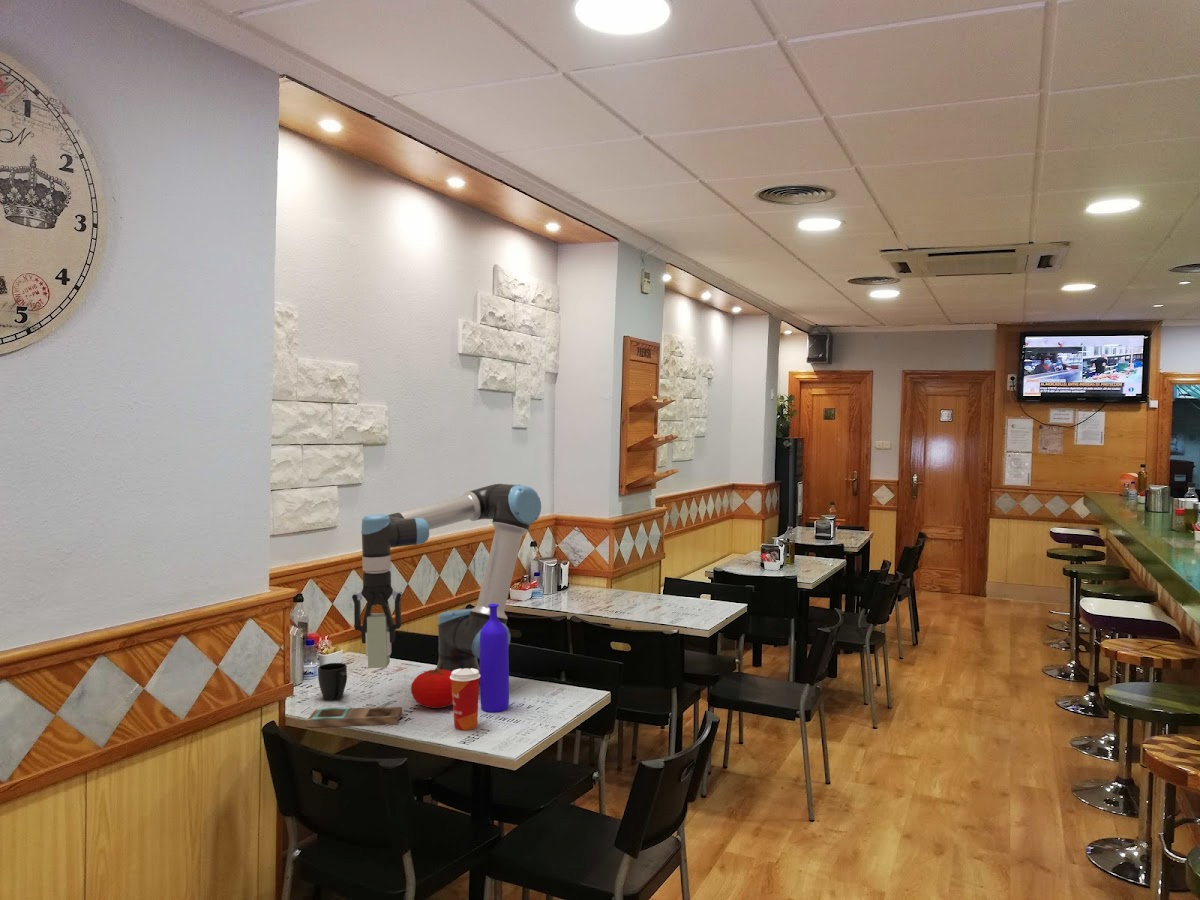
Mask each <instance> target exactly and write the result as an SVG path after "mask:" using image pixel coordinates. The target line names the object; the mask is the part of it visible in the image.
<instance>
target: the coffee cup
mask: <svg viewBox="0 0 1200 900" xmlns="http://www.w3.org/2000/svg"><path fill="white" fill-rule="evenodd" d="M479 678H480V674H479V671H478V670H477V669H474V668H470V669H468V668H464V669H462V668H461V669H456V670H454V671H452V673H451V676H450V679H451V685H452V699H453V704H452V709H453V710H452V711H453V723H454V728H455V729H456V730H458V729H459V730H458V731H470V730H474V729H476V728H477V727H478V719H479V718H478V714H479V713H478V712H479V697H480V696H479V695H480V694H479V693H480V685H479Z"/></svg>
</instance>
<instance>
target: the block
mask: <svg viewBox="0 0 1200 900" xmlns="http://www.w3.org/2000/svg"><path fill="white" fill-rule="evenodd" d="M388 630H389V627H388V624H387V621H386V616H385V614H384V612H377V613H375V612H374V613H372V612H371V615H370V616H368V617H367V642H368V656H367V669H381V668H382V669H384V668H385V669H386V668H387V667H388V666H390V665H389V664H390V662H391V660H390V657H391V654H390V655H387V631H388Z"/></svg>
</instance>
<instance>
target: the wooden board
mask: <svg viewBox="0 0 1200 900" xmlns="http://www.w3.org/2000/svg"><path fill="white" fill-rule="evenodd" d="M402 715H403V706H386V707H385V706H384V707H383V706H381V707H380V706H379V707H378V706H377V707H351V706H347V707H345V706H344V707H319V708H318V709H317V708H315V709H314V710H313V712H312V713H311V714H310V715H309V717H308V718H307V719H306V727H307V728H323V727H324V728H325V727H326V728H329V727H332V728H333V727H355V726H359V727H360V726H361V727H363V726H386V724H388V725H387V726H389V725H390V726H391V725H392V726H393V725H397V724H398V723H399V721H400V719H401V717H402Z"/></svg>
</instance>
